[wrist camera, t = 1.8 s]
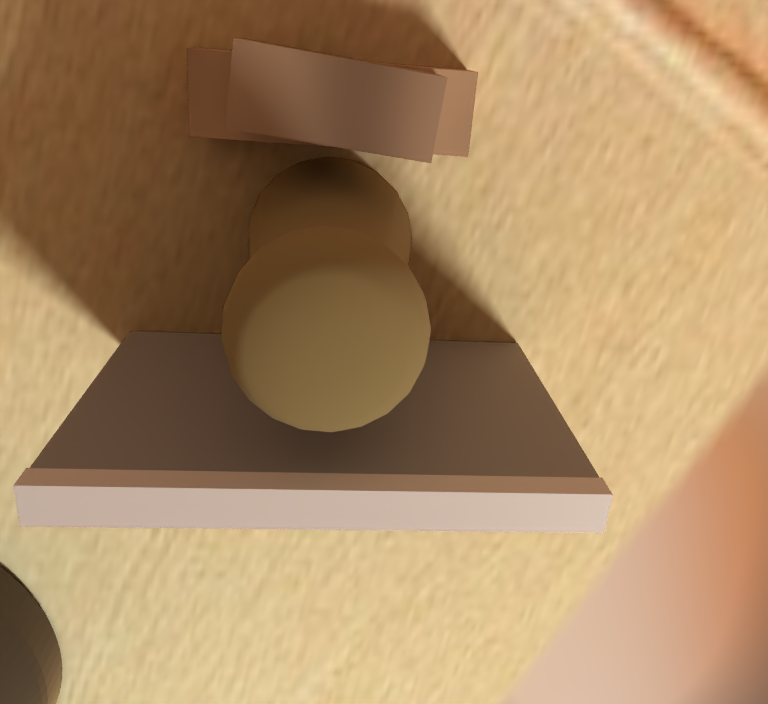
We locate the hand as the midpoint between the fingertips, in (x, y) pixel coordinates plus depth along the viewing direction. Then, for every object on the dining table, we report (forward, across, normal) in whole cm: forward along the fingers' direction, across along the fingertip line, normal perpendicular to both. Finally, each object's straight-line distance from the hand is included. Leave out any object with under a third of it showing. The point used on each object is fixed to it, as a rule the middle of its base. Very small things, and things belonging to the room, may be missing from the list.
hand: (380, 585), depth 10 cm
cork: (+18, -1, 0) cm, 18 cm away
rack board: (+18, -1, -4) cm, 19 cm away
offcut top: (+16, -1, +6) cm, 17 cm away
